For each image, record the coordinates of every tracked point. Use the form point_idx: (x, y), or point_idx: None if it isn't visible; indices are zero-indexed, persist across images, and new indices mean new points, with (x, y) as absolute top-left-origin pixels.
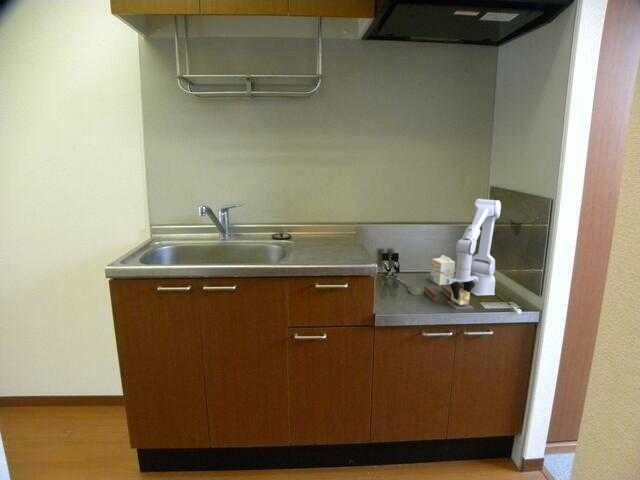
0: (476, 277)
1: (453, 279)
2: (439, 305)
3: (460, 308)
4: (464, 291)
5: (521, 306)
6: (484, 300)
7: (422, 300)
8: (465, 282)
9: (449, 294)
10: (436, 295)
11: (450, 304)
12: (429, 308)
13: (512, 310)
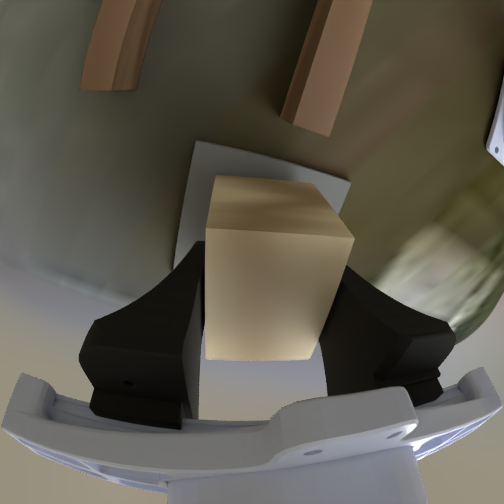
0: (448, 443)
1: (88, 473)
2: (100, 180)
3: None
4: (289, 331)
5: (475, 315)
6: (460, 219)
7: (42, 64)
8: (369, 377)
9: (307, 54)
10: (101, 89)
11: (183, 202)
12: (27, 210)
13: None
